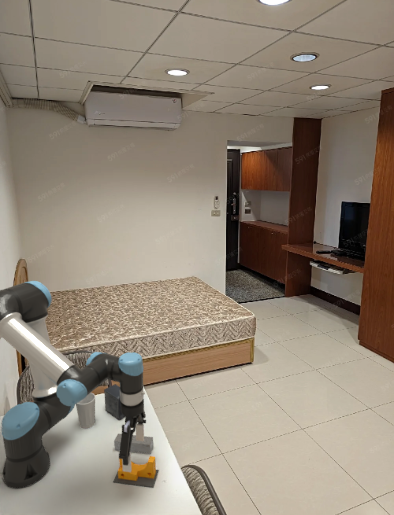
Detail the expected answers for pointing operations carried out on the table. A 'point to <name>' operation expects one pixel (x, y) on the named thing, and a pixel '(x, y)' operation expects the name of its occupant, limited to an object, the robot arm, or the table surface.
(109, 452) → the table surface
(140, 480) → the pad
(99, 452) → the table surface
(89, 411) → the cup
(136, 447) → the grey rectangular bar
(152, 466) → the pipe clamp
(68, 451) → the table surface
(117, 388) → the small box
